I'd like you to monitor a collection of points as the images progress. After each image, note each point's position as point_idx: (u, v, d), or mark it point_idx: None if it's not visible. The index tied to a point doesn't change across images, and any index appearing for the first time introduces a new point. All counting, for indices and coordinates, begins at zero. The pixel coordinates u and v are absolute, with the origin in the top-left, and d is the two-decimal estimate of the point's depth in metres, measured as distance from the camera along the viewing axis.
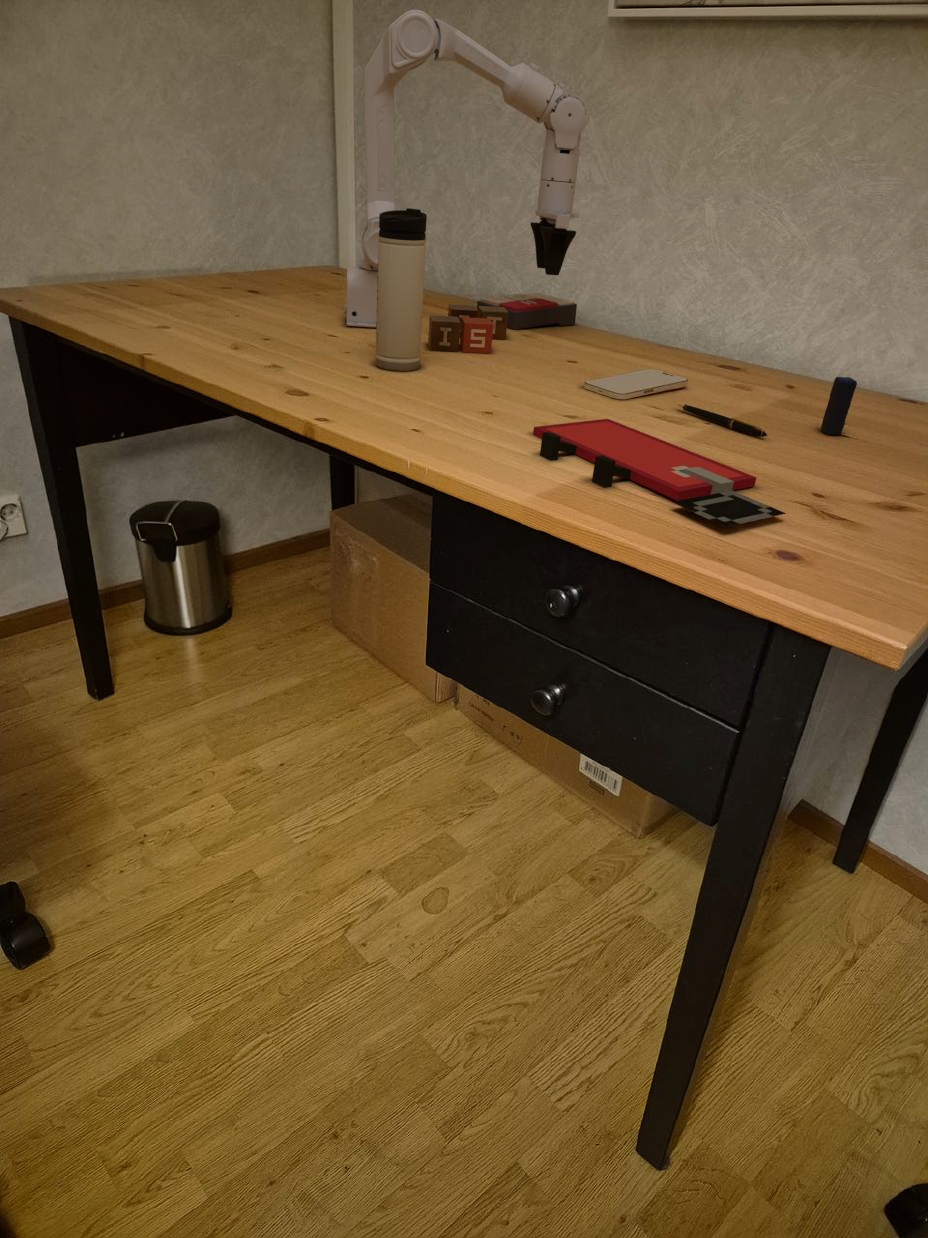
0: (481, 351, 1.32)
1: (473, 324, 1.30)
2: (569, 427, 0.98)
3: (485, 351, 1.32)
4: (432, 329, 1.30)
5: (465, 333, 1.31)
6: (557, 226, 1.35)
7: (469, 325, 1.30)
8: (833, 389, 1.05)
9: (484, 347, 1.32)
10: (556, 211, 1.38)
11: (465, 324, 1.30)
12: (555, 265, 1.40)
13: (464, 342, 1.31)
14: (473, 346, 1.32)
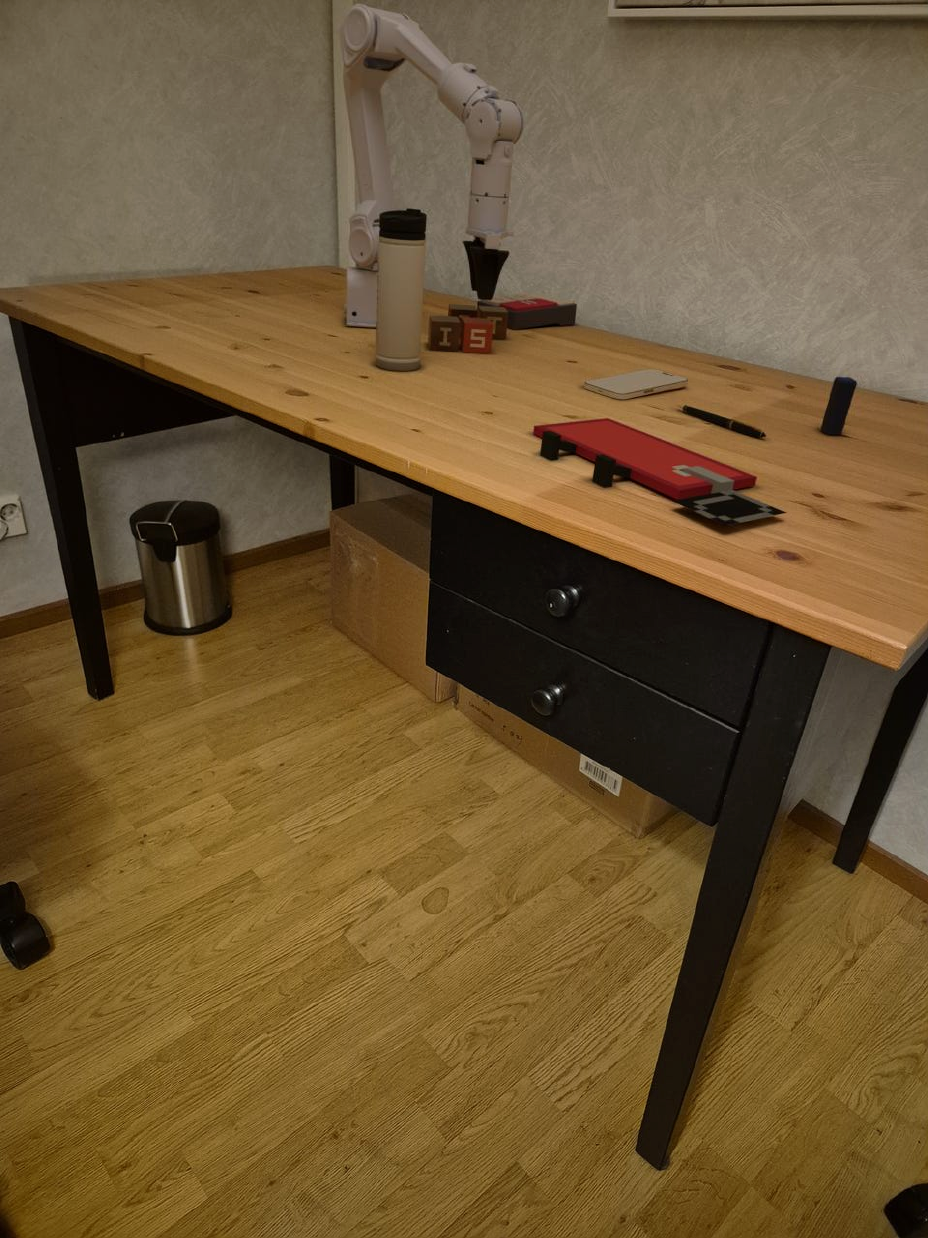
0: (481, 351, 1.32)
1: (473, 324, 1.30)
2: (569, 426, 0.98)
3: (485, 351, 1.32)
4: (432, 329, 1.30)
5: (465, 333, 1.31)
6: (487, 246, 1.21)
7: (469, 325, 1.30)
8: (833, 389, 1.05)
9: (484, 347, 1.32)
10: (487, 229, 1.24)
11: (465, 324, 1.30)
12: (488, 289, 1.26)
13: (464, 342, 1.31)
14: (473, 346, 1.32)
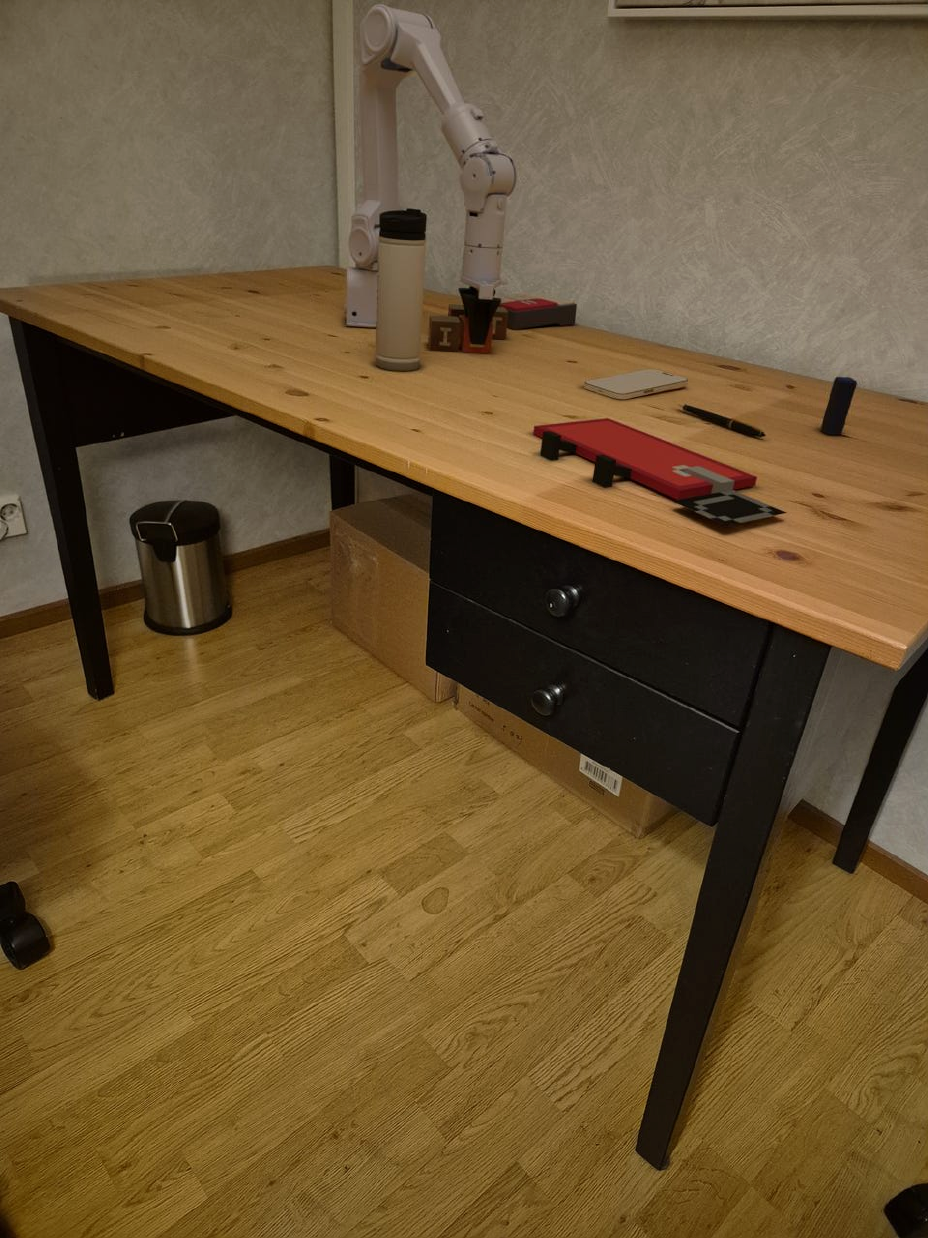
0: (481, 351, 1.32)
1: None
2: (569, 426, 0.98)
3: (485, 351, 1.33)
4: (432, 329, 1.30)
5: (465, 333, 1.31)
6: (480, 297, 1.24)
7: None
8: (833, 389, 1.05)
9: (484, 347, 1.32)
10: (481, 279, 1.27)
11: (465, 324, 1.30)
12: (480, 334, 1.30)
13: (464, 342, 1.32)
14: (473, 346, 1.32)
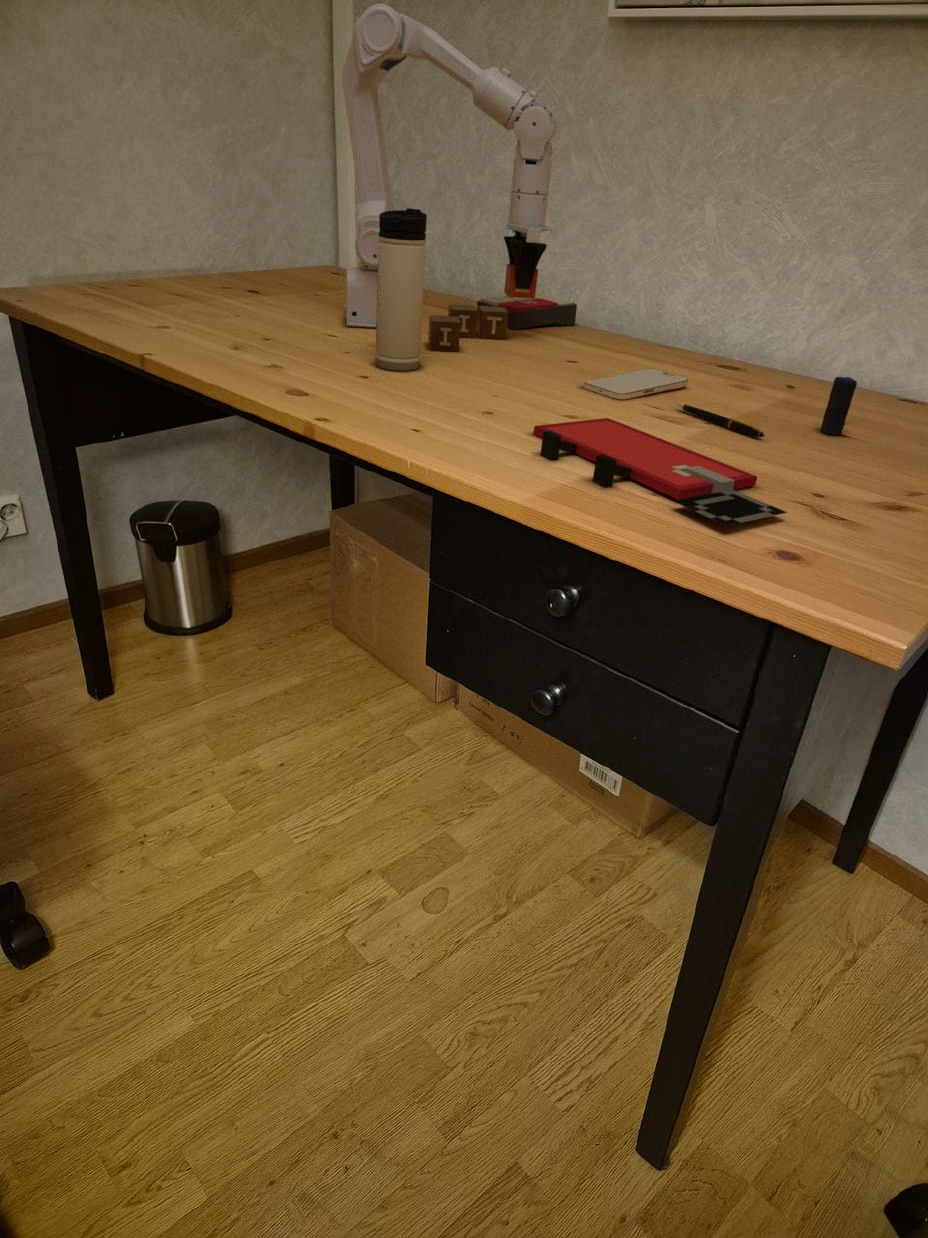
0: (526, 296, 1.38)
1: None
2: (569, 426, 0.98)
3: (530, 296, 1.38)
4: (432, 329, 1.30)
5: (511, 278, 1.37)
6: (528, 240, 1.29)
7: None
8: (833, 389, 1.05)
9: (529, 292, 1.38)
10: (527, 224, 1.32)
11: (511, 269, 1.36)
12: (526, 279, 1.36)
13: (510, 287, 1.37)
14: (518, 291, 1.38)
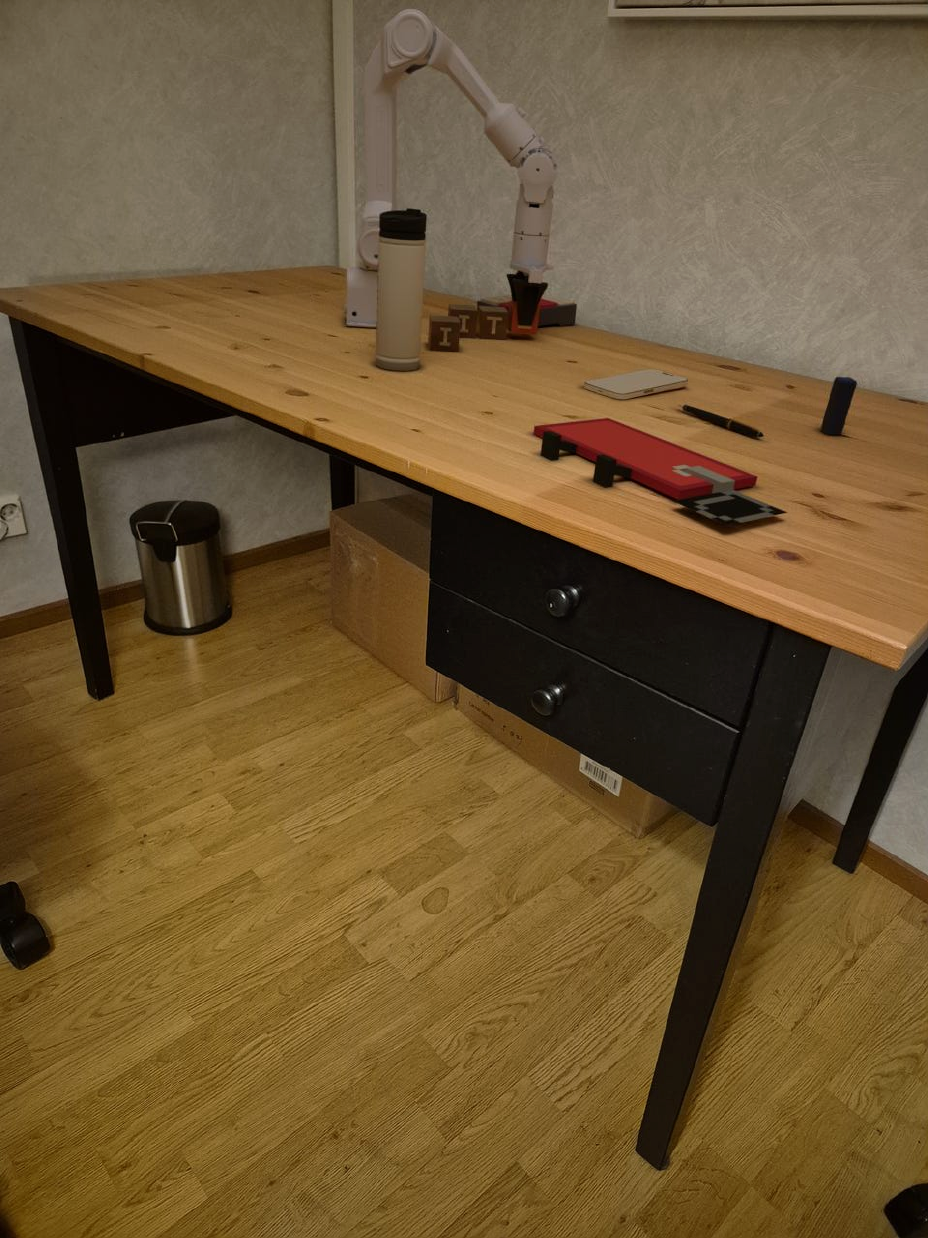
0: (528, 332, 1.43)
1: None
2: (569, 426, 0.98)
3: (532, 332, 1.43)
4: (432, 329, 1.30)
5: (514, 315, 1.41)
6: (530, 281, 1.34)
7: None
8: (833, 389, 1.05)
9: (531, 328, 1.42)
10: (530, 264, 1.37)
11: (514, 307, 1.40)
12: (528, 316, 1.40)
13: (512, 324, 1.42)
14: (521, 328, 1.42)
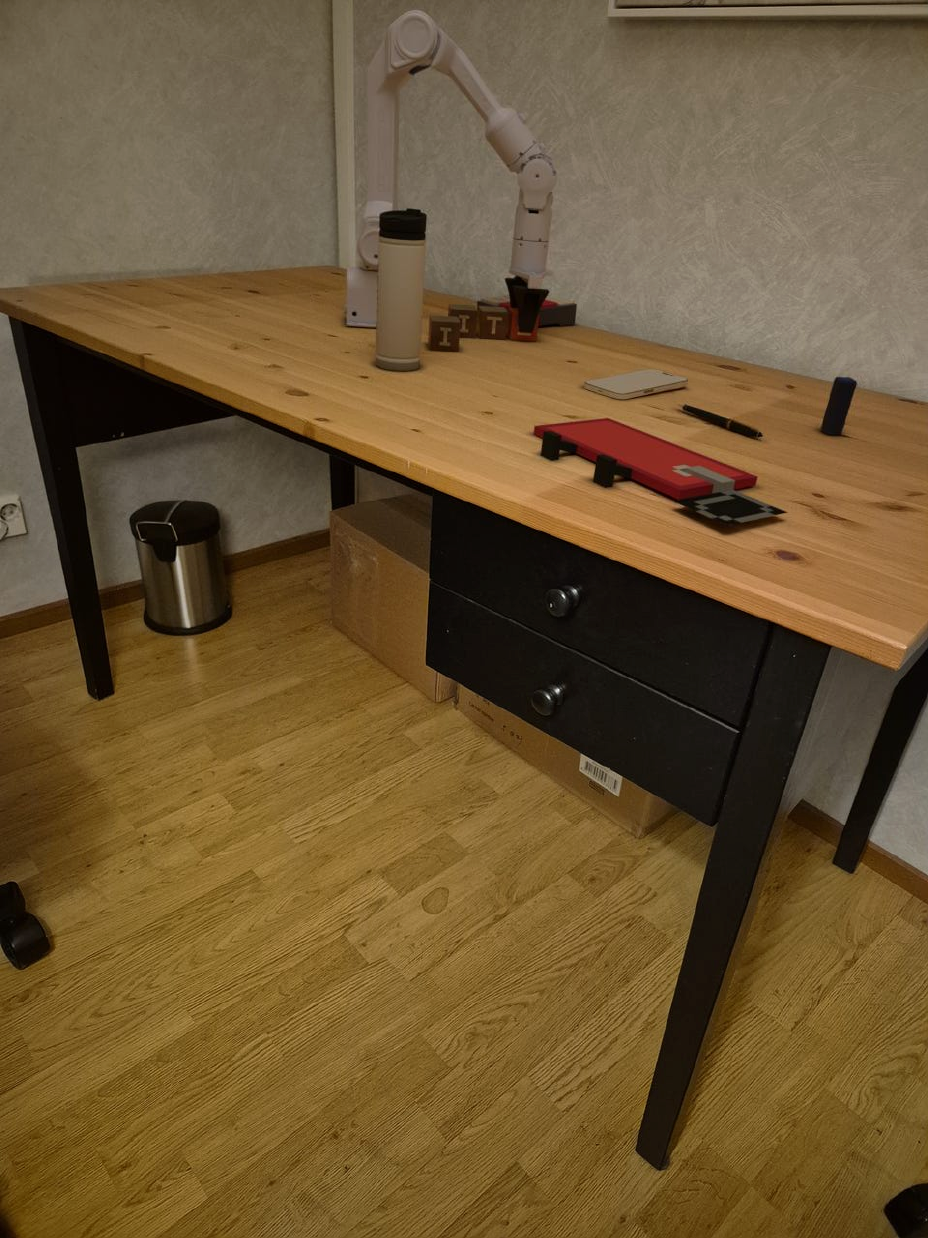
0: (527, 339, 1.43)
1: None
2: (570, 426, 0.98)
3: (531, 339, 1.43)
4: (432, 329, 1.30)
5: (513, 322, 1.42)
6: (529, 286, 1.34)
7: (517, 314, 1.41)
8: (833, 389, 1.05)
9: (530, 335, 1.43)
10: (529, 270, 1.37)
11: (513, 314, 1.41)
12: (528, 323, 1.40)
13: (512, 330, 1.42)
14: (520, 334, 1.43)
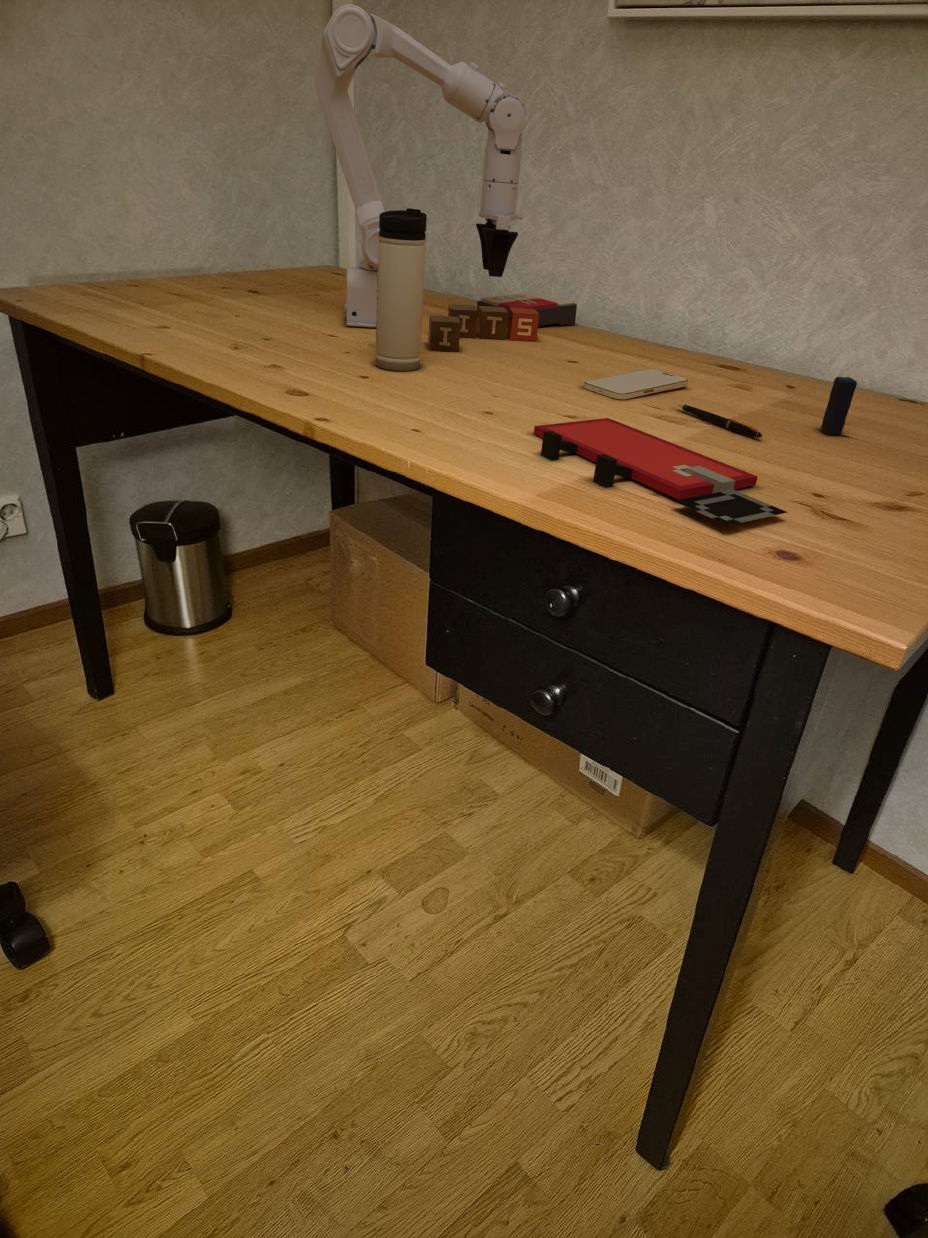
0: (527, 339, 1.43)
1: (521, 314, 1.41)
2: (570, 426, 0.98)
3: (531, 339, 1.43)
4: (432, 329, 1.30)
5: (513, 322, 1.42)
6: (498, 227, 1.34)
7: (517, 314, 1.41)
8: (833, 389, 1.05)
9: (530, 335, 1.43)
10: (498, 212, 1.37)
11: (513, 314, 1.41)
12: (498, 267, 1.39)
13: (512, 330, 1.42)
14: (520, 334, 1.43)
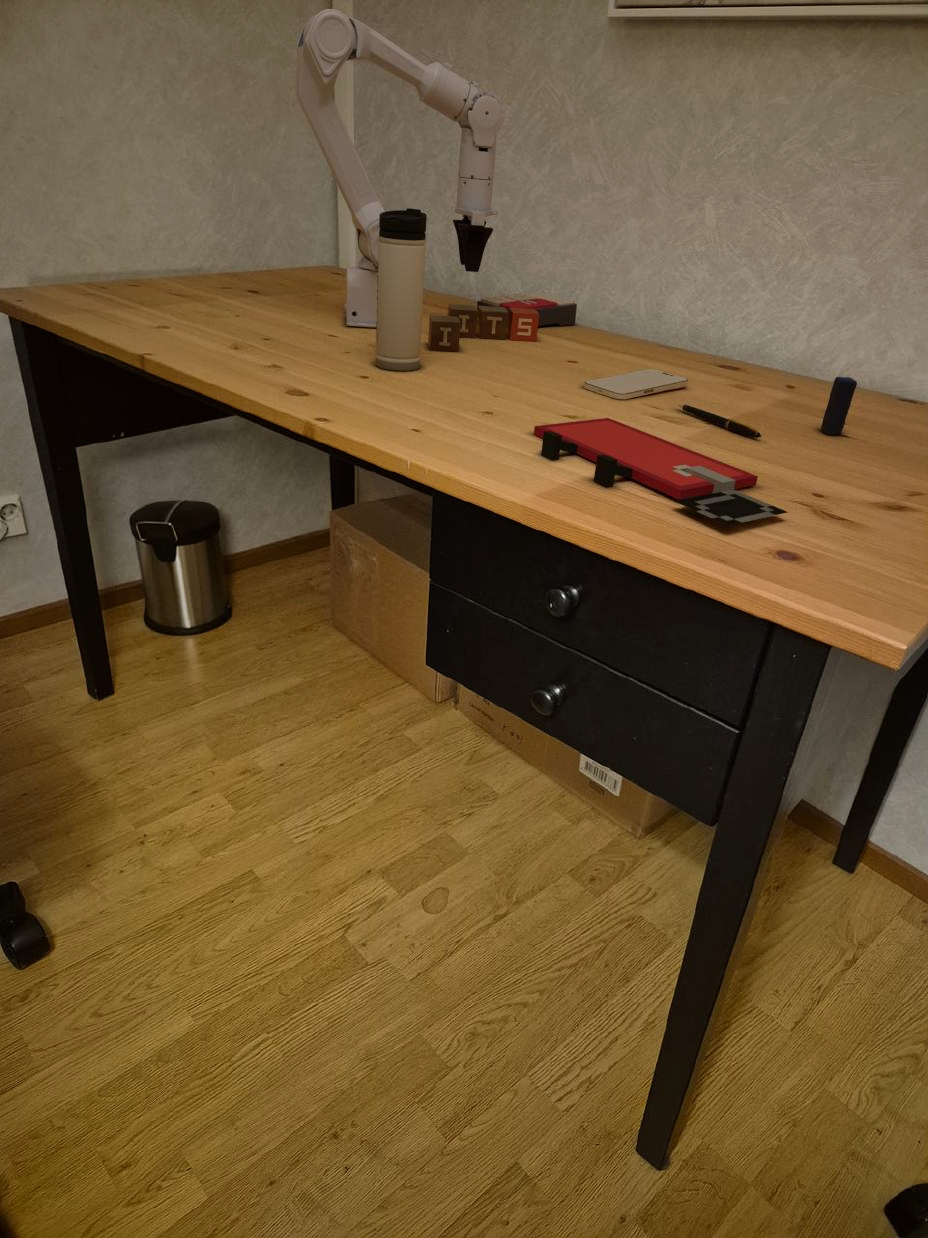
0: (527, 339, 1.43)
1: (521, 314, 1.41)
2: (570, 426, 0.98)
3: (531, 339, 1.43)
4: (432, 329, 1.30)
5: (513, 322, 1.42)
6: (473, 223, 1.36)
7: (517, 314, 1.41)
8: (833, 389, 1.05)
9: (530, 335, 1.43)
10: (473, 208, 1.39)
11: (513, 314, 1.41)
12: (474, 262, 1.42)
13: (512, 330, 1.42)
14: (520, 334, 1.43)
